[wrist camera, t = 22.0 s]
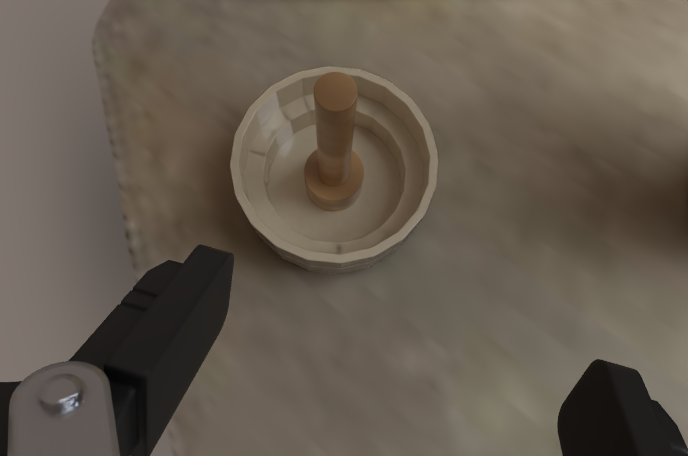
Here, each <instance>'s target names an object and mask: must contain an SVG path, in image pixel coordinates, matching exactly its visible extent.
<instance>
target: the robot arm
mask: <svg viewBox="0 0 688 456" xmlns="http://www.w3.org/2000/svg"><path fill="white" fill-rule="evenodd" d="M233 264H234V255H233V254H232V253H230V252H226V251H223V250H219V249H216V248H212V247H209V246H205V245H202V244H200V245H198V246H197V247H196V248H195V249H194V250H193V252H192V253H191V254H190V255H189V257H188V258H187V259H186V260H185V262H184V263H183V264H182V263H179V262H175V261H172V260H168V261H166V262H164V263H162V264H160V265H158V266H156V267H154V268H153V269H151V270H149V271H147V272H146V274H145V275H144V276H143V277H142V278H141V279H140V280H139V282H138V283H137V284H136V285H135V286H134V287H133V290H132V291H130V292H129V293H128V294H127V295H126V296H125V297H124V299H123V300H122V301H121V304H120V305H117V307H116V308H115V309H114V310H113V311H112V312H111V313H110V315H109V316H108V317H107V318H106V319H105V320H104V321H103V323H102V324H101V325H100V326H99V327H98V328H97V329H96V331H95V332H94V333H93V334H92V335H91V336H90V337H89V339H88V340H87V341H86V342H85V343H84V344H83V345H82V346H81V348H80V349H79V350H78V351H77V352H76V353H75V355H74V356H73V357H72V358H71V359H70V360H69V361H66V362H60V363H55V364H51V365H49V366H46V367H43V368H41V369H39V370H37V371H35V372H34V373H32V374H31V375H29V376H28V377H27V378H25V379H24V380H23V381H19V382H0V456H150V454H151V453H152V451H153V449H154V447H155V445H156V444H157V442H158V440H159V439H160V437H161V435H162V433H163V432H164V430H165V428H166V426H167V424H168V423H169V421H170V419H171V417H172V416H173V414H174V412H175V410H176V409H177V407H178V405H179V403H180V402H181V400H182V398H183V396H184V394H185V393H186V391H187V389H188V387H189V386H190V384H191V382H192V380H193V379H194V377H195V375H196V373H197V372H198V370H199V368H200V366H201V364H202V363H203V361H204V359H205V357H206V356H207V354H208V352H209V350H210V349H211V347H212V345H213V343H214V342H215V340H216V338H217V336H218V335H219V333H220V331H221V329H222V326H223V324H224V321H225V318H226V315H227V311H228V307H229V299H230V290H231V281H232V273H233ZM558 435H559V440H560V445H561V449H562V454H563V456H688V448H687V446H686V444H685V442H684V440H683V437H682V435H681V433H680V431H679V429H678V426H677V425H676V424H675V422H674V421H673V420H672V419H671V417H670V416H669V415H668V414H667V413H666V411H665V410H664V409H663V408H662V406H661V405H660V404H659V403H658V402H657V401H654V400H651V398H650V396H649V394H648V391H647V389H646V387H645V384H644V382H643V380H642V377H641V375H640V374H639V372H638V371H636V370H635V369H632V368H628V367H625V366H621V365H618V364H614V363H611V362H607V361H604V360H600V359H597V360H595V361H593V362H592V363H591V364H590V365H589V367H588V368H587V370H586V371H585V372H584V374H583V375H582V377H581V378H580V380H579V381H578V382H577V384H576V385H575V387H574V388H573V390H572V391H571V393H570V394H569V395H568V397H567V398H566V400H565V401H564V403H563V404H562V406H561V409H560V412H559V416H558Z"/></svg>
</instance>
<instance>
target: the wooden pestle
mask: <svg viewBox="0 0 688 456" xmlns="http://www.w3.org/2000/svg"><path fill="white" fill-rule="evenodd" d="M357 95H358V89H357V85H356V83H355V82H354V80H353V79H352V78H351V77H350V76H348V75H347V74H345V73H342V72H329V73H326V74H324V75H322V76H321V77H320V78H319V79H318V80H317V82H316V83H315V86H314V107H315V121H316V136H317V149H316V150H315V151H314V152H313V153H312V154H311V155H310V156H309V157H308V159H307V161H306V163H305V167H304V178H305V184H306V190H307V194H308V196H309V198H310V199H311V201H312V202H313V203H314V204H315V205H316V206H318V207H319V208H321V209H324V210H327V211H341V210H344V209H347V208H348V207H350V206H351V205H353V204H354V203H355V202H356V200H357V199H358V197H359V195H360V193H361V189H362V184H363V179H364V167H363V163H362V161H361V159H360V157H359V156H358V155H357V154H356V153H355V152H354V151H353V150H352V142H353V133H354V123H355V114H356V105H357Z"/></svg>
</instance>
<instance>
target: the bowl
mask: <svg viewBox="0 0 688 456" xmlns="http://www.w3.org/2000/svg"><path fill="white" fill-rule="evenodd" d="M329 72H342V73H345V74H347V75H348V76H350V77H351V78H352V79H353V80H354V82H355V83H356V85H357V89H358V95H357V105H356V114H355V123H354V133H353V142H352V150H353V151H354V152H355V153H356V154H357V155H358V156H359V157H360V159H361V161H362V163H363V167H364V179H363V184H362V189H361V193H360V195H359V197H358V199H357V200H356V202H355V203H354V204H353V205H351V206H350V207H348V208H347V209H344V210H341V211H327V210H324V209H321V208H319V207H318V206H316V205H315V204H314V203H313V202H312V201H311V199H310V198H309V196H308V194H307V190H306V184H305V178H304V167H305V163H306V161H307V159H308V157H309V156H310V155H311V154H312V153H313V152H314V151H315V150H316V149H317V136H316V121H315V107H314V86H315V83H316V82H317V80H318V79H319V78H320V77H321V76H322V75H324V74H326V73H329ZM230 169H231V175H232V180H233V186H234V192H235V196H236V198H237V200H238V202H239V204H240V205H241V207H242V209H243V211H244V212H245V214H246V216H247V218H248V220H249V221H250V223H251V225H252V226H253V228H254V229H255V231H256V232H257V234H258V235H259V237H260V238H261V239H262V241H263V242H265V243H266V244H267V245H268V246H269V247H270V248H271V249H272V250H273V251H275V252H276V253H277V254H278V255H279V256H280V257H281V258H282V259H284V260H286V261H289V262H291V263H293V264H295V265H298V266H300V267H302V268H305V269H307V270H310V271H315V272H325V273H335V274H342V273H346V272H351V271H356V270H360V269H365V268H368V267H371V266H372V265H374V264H376V263H378V262H379V261H381V260H383V259H384V258H386V257H388V256H390V255H391V254H393V253H394V252H395V251H396V250H397V249H398V248H399V247H400V245H401V244H402V243H403V242H404V241H405V240H406V239H407V237H408V236H409V235H410V234H411V233H412V232H413V230H414V229H415V228H416V226H417V225H418V223H419V222H420V221H421V219H422V218H423V217H424V215H425V213H426V211H427V208H428V206H429V203H430V201H431V199H432V196H433V194H434V191H435V189H436V185H437V171H438V152H437V148H436V145H435V141H434V137H433V134H432V130H431V127H430V125H429V123H428V122H427V120H426V119H425V117H424V116H423V114H422V113H421V111H420V110H419V108H418V107H417V105H416V104H415V102H414V101H413V100H412V99H411V98H410V97H409V96H407V95H406V94H405V93H404V92H402V91H401V90H400V89H399V88H397V87H396V86H395V85H394V84H392V83H391V82H390V81H388V80H386V79H383V78H381V77H378V76H376V75H373V74H371V73H369V72H366V71H364V70H360V69H354V68H344V67H334V66H330V67H329V66H327V67H321V68H316V69H310V70H305V71H300V72H297V73H295V74H293V75H291V76H289V77H287V78H285V79H283V80H281V81H279V82H277V83H275V84H273V85H272V86H270V87H269V88H268V89H267V90H266V91H265V92H264V93H263V94H262V95H261V96H260V97H259V98H258V99H257V100H256V101H255V102H254V103H253V104H252V105H251V106H250V107H249V108H248V110H247V112H246V114H245V116H244V118H243V120H242V122H241V123H240V125H239V127H238V129H237V131H236V133H235V136H234V142H233V148H232V154H231V161H230Z"/></svg>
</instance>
